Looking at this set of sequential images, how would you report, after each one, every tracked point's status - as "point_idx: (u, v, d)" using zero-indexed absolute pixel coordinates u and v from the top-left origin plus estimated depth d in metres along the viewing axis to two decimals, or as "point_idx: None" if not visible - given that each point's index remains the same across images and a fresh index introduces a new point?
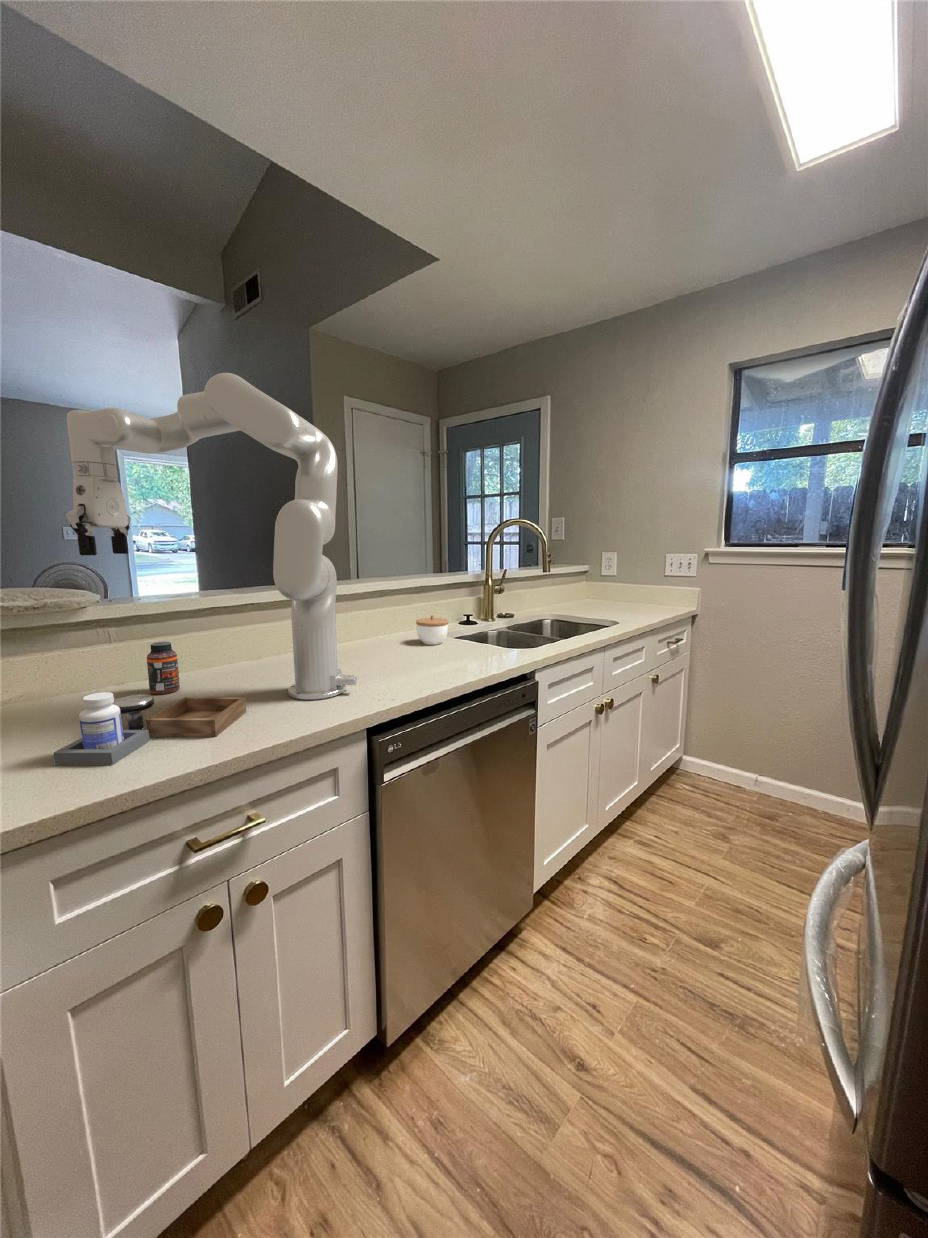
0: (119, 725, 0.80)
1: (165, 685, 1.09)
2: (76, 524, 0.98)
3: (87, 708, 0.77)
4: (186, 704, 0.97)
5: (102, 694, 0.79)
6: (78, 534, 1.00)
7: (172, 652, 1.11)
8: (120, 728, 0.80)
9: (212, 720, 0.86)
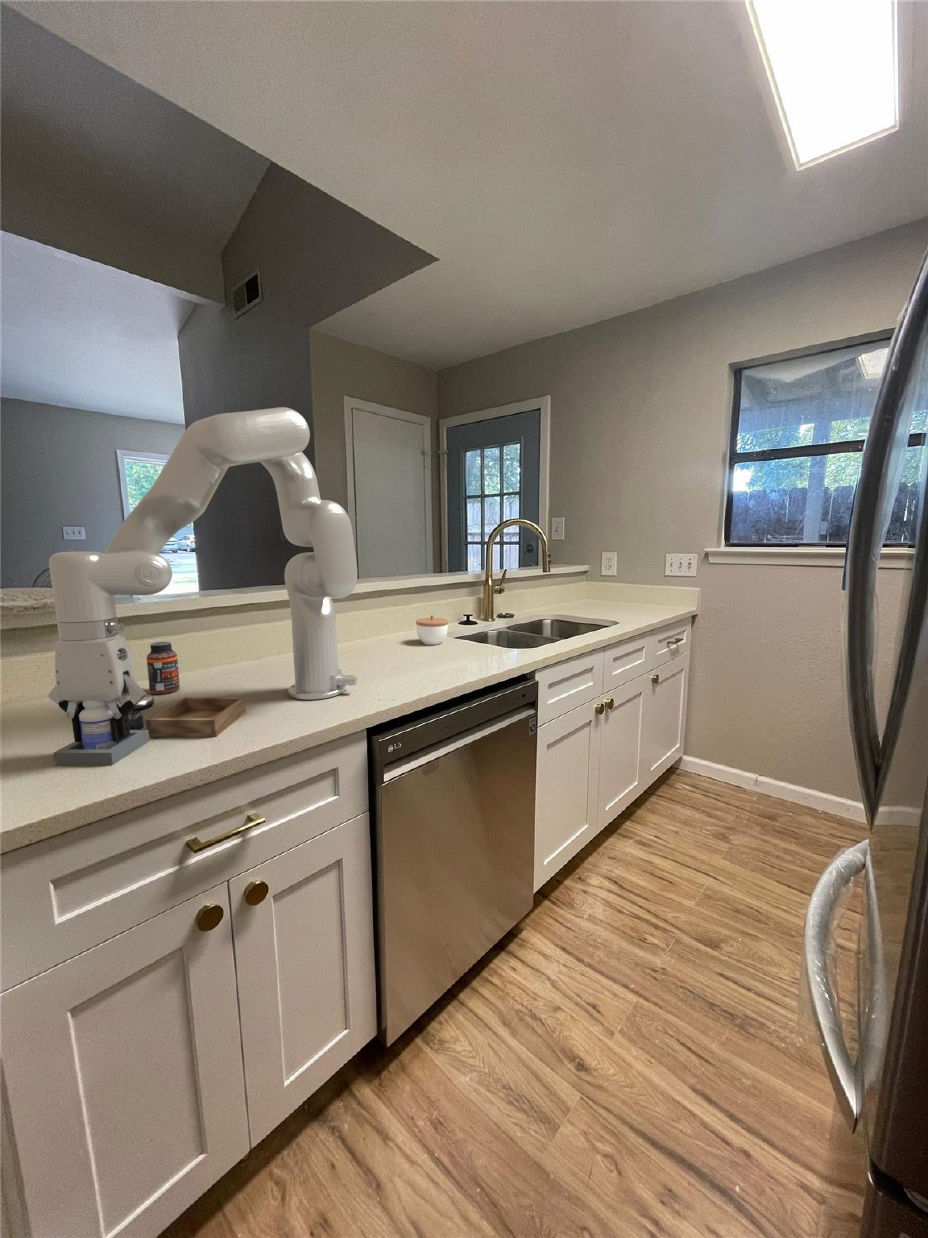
0: None
1: (165, 685, 1.09)
2: None
3: (87, 708, 0.77)
4: (186, 704, 0.97)
5: None
6: (123, 715, 0.79)
7: (172, 652, 1.11)
8: None
9: (212, 720, 0.86)
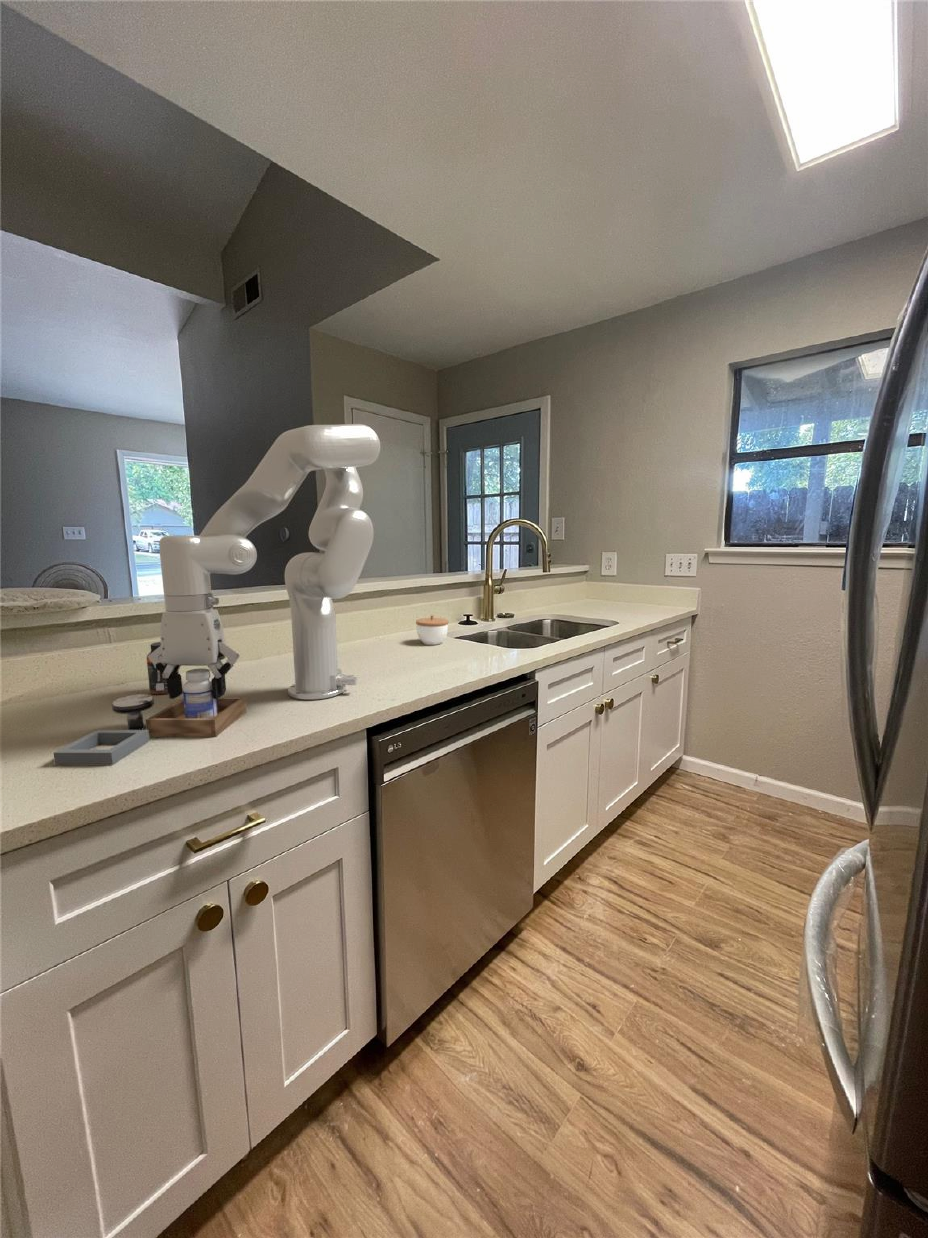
0: None
1: (165, 685, 1.09)
2: None
3: (190, 681, 0.89)
4: None
5: (201, 669, 0.92)
6: (222, 675, 0.90)
7: None
8: (215, 699, 0.92)
9: (212, 720, 0.86)
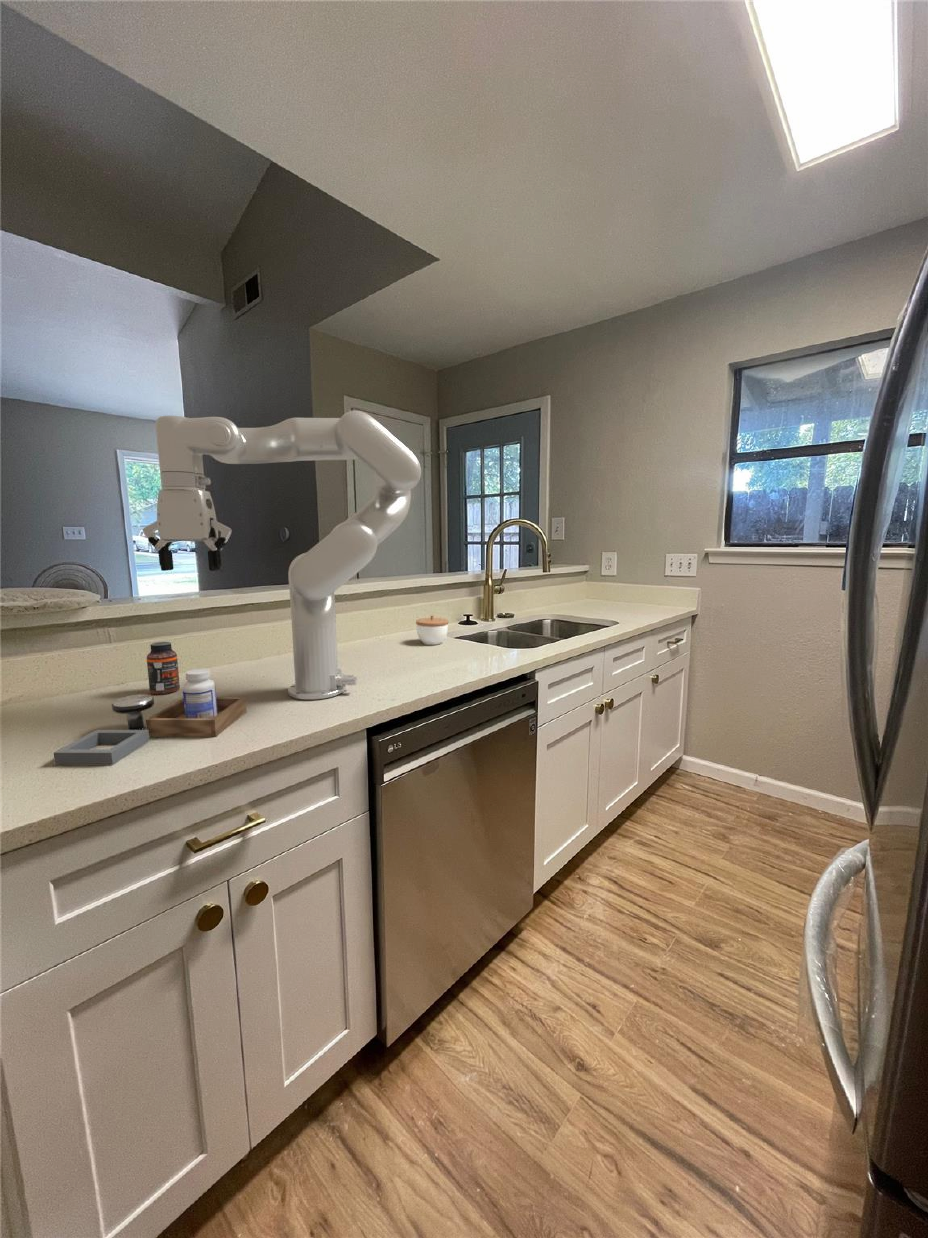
0: (215, 697, 0.92)
1: (165, 685, 1.09)
2: None
3: (190, 681, 0.89)
4: None
5: (201, 669, 0.92)
6: (217, 549, 0.98)
7: (172, 652, 1.10)
8: (215, 699, 0.92)
9: (212, 720, 0.86)
